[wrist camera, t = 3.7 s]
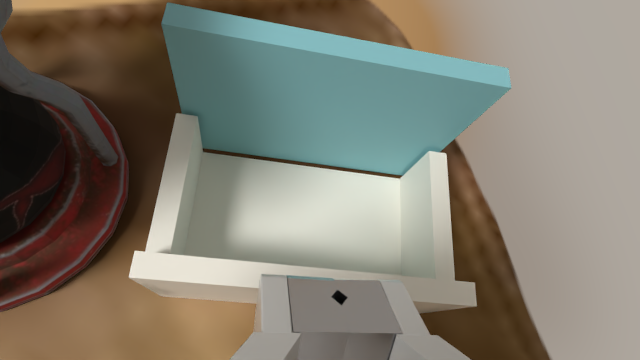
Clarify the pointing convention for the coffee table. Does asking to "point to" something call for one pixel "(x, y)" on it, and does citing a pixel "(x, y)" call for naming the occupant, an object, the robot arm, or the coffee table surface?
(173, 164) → the white open box
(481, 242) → the coffee table surface
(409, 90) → the box lid
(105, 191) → the hourglass
